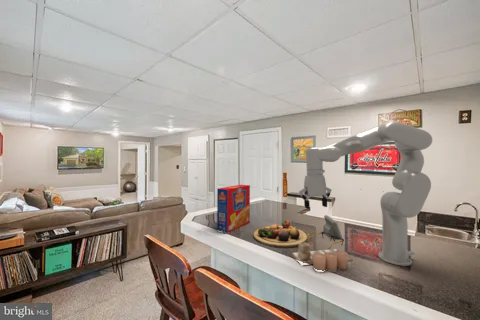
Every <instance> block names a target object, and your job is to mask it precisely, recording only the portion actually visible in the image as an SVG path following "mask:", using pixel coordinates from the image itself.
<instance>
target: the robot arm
mask: <svg viewBox="0 0 480 320" xmlns="http://www.w3.org/2000/svg"><path fill="white" fill-rule="evenodd" d="M389 142H394V145H395V147H396V149H397V151H398V152H399V154H400V162H399V165H398V166H397V169H396V171H395V173H394V175H393V177H392V184H391V185H392V186H393V188H394V189H396V190H398V191H401V192H397V191H388V192H385V193H384V194H383V195H382V196H381V197H380V203H379V204H380V208H381V209H380V210H381V217H382V219H381V220H382V223H381V224H382V229H381V230H382V232H381V233H382V237H381V238H382V241H381V244H382V246H381V247H382V248H381V250H382V251H379V252H378V255H377V256H378V258H379V259H381V260H382V261H384V262H386V263H388V264H392V265H395V266H403V267H407V266H411V265H412V263H413V261H412V259H411V258H410V256H415V255H416V252H415V251H414V250H408V236H409V235H408V232H409V231H408V230H409V229H408V227H409V225H408V219H410V218H414V217H416V216H418V215H419V214H420V212H421V211H422V210H423V207H424V204H425V203H426V202H427V198H428V197H429V196H428V195H429V193H430V191H431V188H432V182H431V179H430V177H429V176H428V175H427V174H425V173H423V172H422V170H423V168H424V165H425V159H424V158H425V157H424V154H423V150H426V149H428V148H429V147H431V145H432V143H433V137H432V134H430V133H429V132H428V131H427V130H424V129H421V128H418V127H415V126H411V125H408V124H405V123H402V122H396V121H389V122H386V123H383V124H380V125H377V126H375V127H372V128H369V129H367V130H364V131H362V132H360V133H356V134H355V135H352V136H350V137H348V138H345V139H343V140H340V141H338V142H335V143H333V144H330V145H328V146H324V147H308V148H307V149H306V151H305V158H306V159H305V161H306V175H305V176H304V181H303V188H302V189H300V190H299V191H298V193H299V195H300V197H301V198H302V199H303V200H304V208H305V209H307V210H308V209H310V208H311V204H310V200H309V199H310V198H311V197H319V196H321V197H322V198H321V204H322V205H321V206H322V207H323V208H327V207H328V199H329V197H330V196H331V193H332V189H331V188H329V187H327V183H326V178H325V175H324V173H325V169H324V168H323V167H324V166H323V162H324V163H325V162H326V163H334V162H337V161H338V160H339V159H341V157H344V156H347V155H353V154H357V153H361V152H364V151H367V150H369V149H372V148H375V147H377V146H379V145H382V144H385V143H389ZM407 218H408V219H407Z"/></svg>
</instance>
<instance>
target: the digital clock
mask: <svg viewBox="0 0 480 320" xmlns="http://www.w3.org/2000/svg"><path fill="white" fill-rule="evenodd" d="M323 217H324V221H325V224H323V231H322V232H325V233H324V234H325V235H326V236H327V237H328V238H331V235H332V236H337V237H336V239H338V240H342V239H343V236H342V233H341V229H340V228H339V225H338V222H337V221H336V220H335V219H334V218H332V217H331V216H329V215H326V214H325V215H324V216H323ZM327 233H329V234H330V235H329V234H327ZM338 237H340V238H338ZM341 238H342V239H341Z"/></svg>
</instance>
